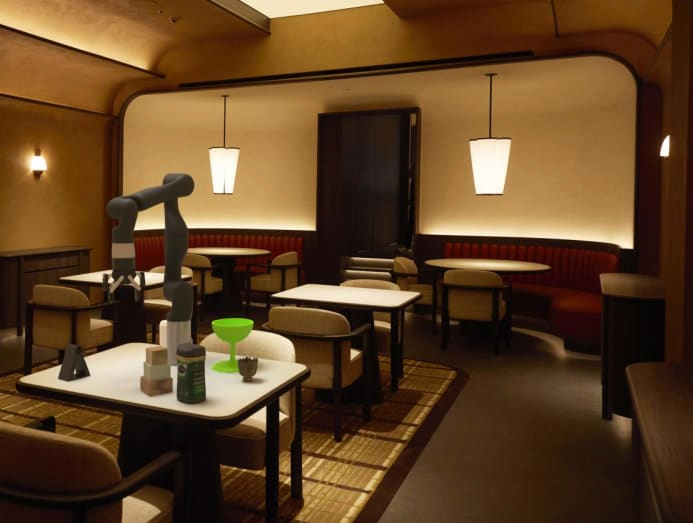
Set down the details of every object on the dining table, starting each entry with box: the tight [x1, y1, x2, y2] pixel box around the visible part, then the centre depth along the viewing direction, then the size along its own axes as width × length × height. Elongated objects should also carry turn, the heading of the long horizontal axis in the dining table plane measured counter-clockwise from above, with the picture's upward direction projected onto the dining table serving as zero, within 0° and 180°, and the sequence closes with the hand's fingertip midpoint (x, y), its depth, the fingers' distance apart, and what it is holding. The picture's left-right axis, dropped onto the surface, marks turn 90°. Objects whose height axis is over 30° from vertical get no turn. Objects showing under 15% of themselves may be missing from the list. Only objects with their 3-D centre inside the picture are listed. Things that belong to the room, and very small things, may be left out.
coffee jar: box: [175, 342, 207, 404], centre depth 192 cm, size 10×8×19 cm
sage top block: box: [143, 360, 172, 381], centre depth 201 cm, size 7×7×5 cm
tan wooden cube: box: [145, 345, 168, 366], centre depth 200 cm, size 5×5×5 cm
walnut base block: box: [139, 375, 174, 397], centre depth 201 cm, size 8×8×5 cm
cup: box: [237, 356, 259, 382], centre depth 215 cm, size 8×7×8 cm
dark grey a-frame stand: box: [57, 343, 91, 383], centre depth 214 cm, size 9×6×12 cm, turn 148°
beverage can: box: [159, 319, 167, 348], centre depth 260 cm, size 8×8×12 cm
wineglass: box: [211, 317, 254, 374], centre depth 231 cm, size 16×16×18 cm
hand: (124, 301), depth 208 cm, fingers open, 8 cm apart
